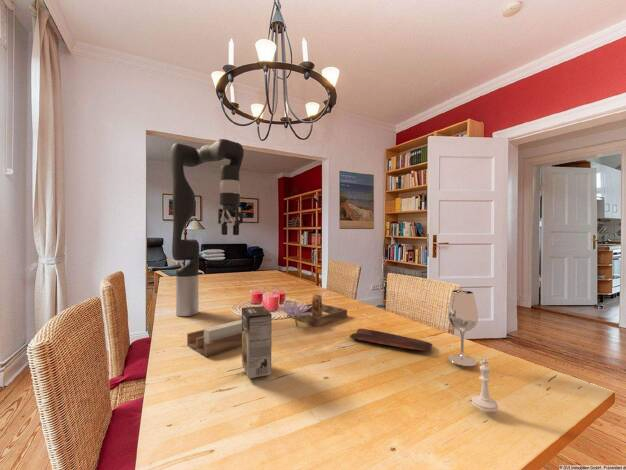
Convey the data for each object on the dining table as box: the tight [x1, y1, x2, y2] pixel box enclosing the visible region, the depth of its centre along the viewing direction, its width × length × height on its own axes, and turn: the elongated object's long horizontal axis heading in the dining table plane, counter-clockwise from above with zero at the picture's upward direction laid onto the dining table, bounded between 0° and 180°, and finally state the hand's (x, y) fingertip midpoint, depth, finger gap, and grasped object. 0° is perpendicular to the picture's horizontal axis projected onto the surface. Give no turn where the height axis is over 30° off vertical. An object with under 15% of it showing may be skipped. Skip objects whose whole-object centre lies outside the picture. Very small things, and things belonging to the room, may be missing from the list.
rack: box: [186, 329, 242, 359], centre depth 100 cm, size 14×20×4 cm
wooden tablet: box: [349, 328, 433, 352], centre depth 101 cm, size 26×2×10 cm
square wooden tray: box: [286, 303, 348, 328], centre depth 130 cm, size 18×18×4 cm
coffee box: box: [241, 305, 273, 379], centre depth 81 cm, size 9×6×16 cm
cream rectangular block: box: [203, 319, 242, 348], centre depth 98 cm, size 4×16×6 cm, turn 136°
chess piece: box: [471, 357, 499, 412], centre depth 64 cm, size 5×5×10 cm
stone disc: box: [311, 293, 323, 317], centre depth 130 cm, size 10×4×10 cm, turn 168°
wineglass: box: [447, 289, 479, 367], centre depth 86 cm, size 8×8×20 cm
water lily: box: [278, 301, 312, 327], centre depth 118 cm, size 15×15×9 cm
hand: (230, 235), depth 115 cm, fingers open, 8 cm apart
